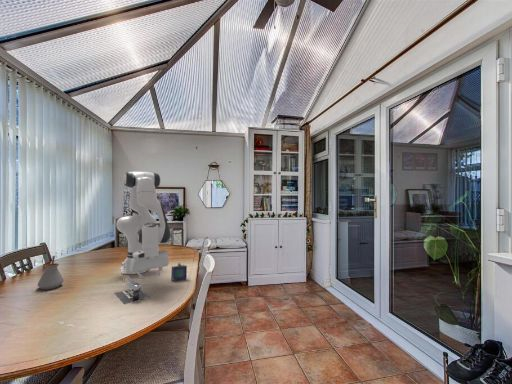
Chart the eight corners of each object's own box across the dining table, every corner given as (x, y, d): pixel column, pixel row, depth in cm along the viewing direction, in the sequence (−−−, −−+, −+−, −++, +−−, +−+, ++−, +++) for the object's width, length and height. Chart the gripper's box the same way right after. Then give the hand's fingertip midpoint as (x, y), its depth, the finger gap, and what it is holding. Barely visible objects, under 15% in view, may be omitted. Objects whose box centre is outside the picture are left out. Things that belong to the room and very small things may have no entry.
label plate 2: (126, 295, 126) (126, 294, 126) (135, 293, 129) (135, 292, 129) (129, 298, 122) (129, 298, 122) (138, 296, 125) (138, 295, 125)
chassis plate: (114, 294, 129) (114, 293, 129) (137, 289, 137) (137, 287, 137) (124, 306, 116) (124, 304, 116) (149, 299, 124) (149, 297, 124)
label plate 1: (122, 291, 131) (122, 291, 131) (131, 289, 134) (131, 288, 134) (125, 294, 127) (125, 294, 127) (134, 292, 130) (134, 291, 130)
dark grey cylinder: (132, 299, 122) (132, 290, 122) (137, 297, 124) (138, 288, 124) (133, 301, 120) (134, 291, 120) (139, 299, 122) (140, 290, 122)
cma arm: (121, 281, 133) (121, 276, 133) (129, 280, 136) (130, 275, 136) (132, 292, 119) (133, 286, 119) (142, 290, 122) (142, 284, 122)
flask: (171, 281, 150) (171, 264, 150) (171, 280, 153) (171, 263, 153) (186, 280, 153) (186, 263, 153) (186, 278, 155) (186, 261, 156)
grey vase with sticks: (62, 288, 137) (63, 261, 137) (35, 292, 131) (36, 265, 131) (65, 277, 155) (65, 254, 155) (41, 281, 148) (41, 256, 148)
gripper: (166, 248, 145) (165, 271, 144) (129, 254, 131) (128, 279, 130) (170, 250, 140) (170, 274, 140) (133, 256, 126) (132, 282, 126)
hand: (150, 277), depth 135 cm, fingers open, 8 cm apart
